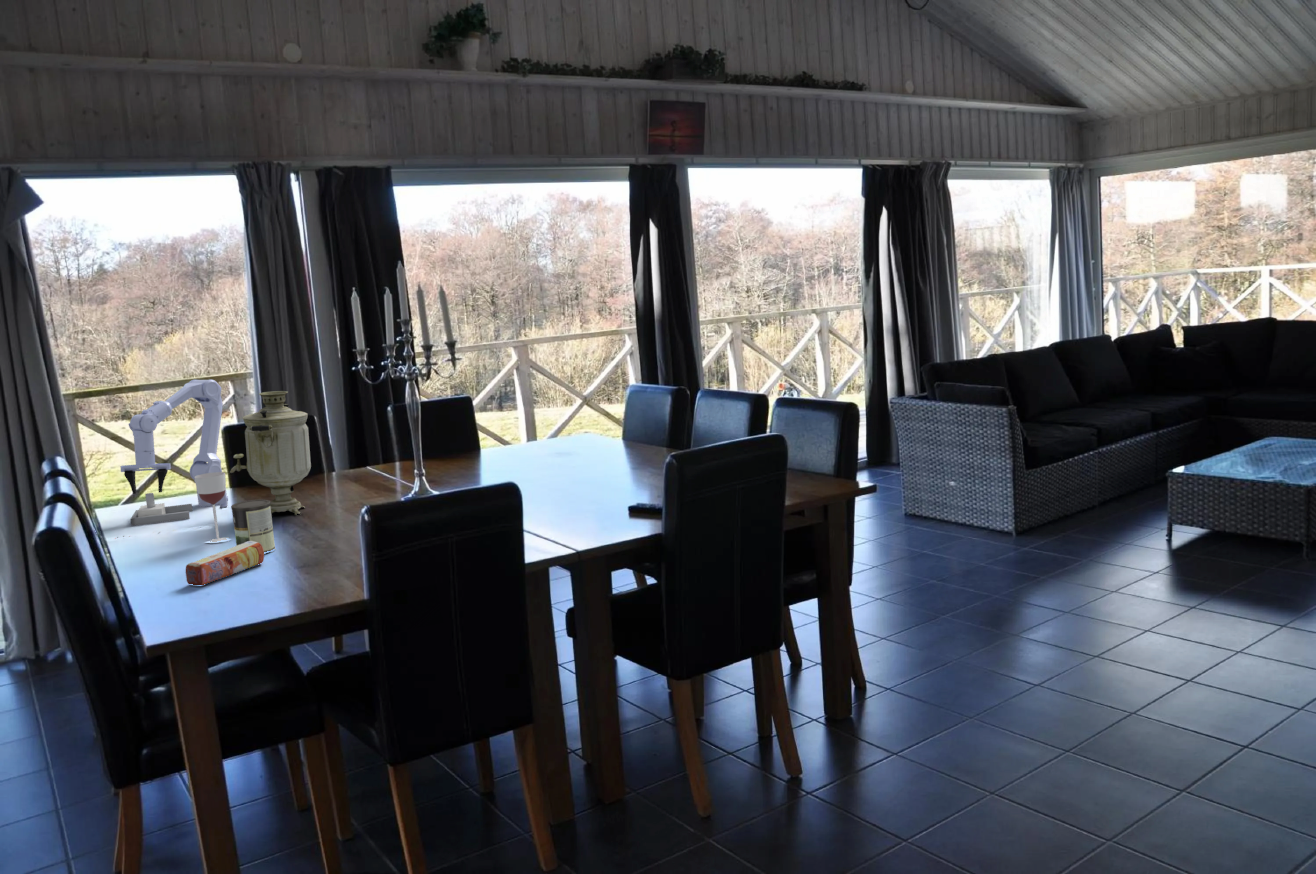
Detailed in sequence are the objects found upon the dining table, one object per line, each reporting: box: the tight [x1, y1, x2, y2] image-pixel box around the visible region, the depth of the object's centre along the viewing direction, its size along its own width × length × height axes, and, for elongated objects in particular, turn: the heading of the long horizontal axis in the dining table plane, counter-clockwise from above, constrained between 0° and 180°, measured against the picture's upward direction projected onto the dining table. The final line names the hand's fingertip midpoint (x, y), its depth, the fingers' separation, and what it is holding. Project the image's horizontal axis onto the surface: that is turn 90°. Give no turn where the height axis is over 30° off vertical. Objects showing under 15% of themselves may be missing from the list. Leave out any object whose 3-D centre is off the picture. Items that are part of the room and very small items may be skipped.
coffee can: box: [230, 499, 276, 552], centre depth 292 cm, size 10×10×14 cm
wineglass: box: [194, 471, 227, 542], centre depth 307 cm, size 8×9×20 cm
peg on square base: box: [137, 492, 166, 517], centre depth 338 cm, size 7×9×8 cm
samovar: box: [229, 390, 312, 516], centre depth 340 cm, size 30×26×40 cm
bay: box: [130, 503, 194, 527], centre depth 339 cm, size 17×14×4 cm
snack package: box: [185, 541, 265, 586], centre depth 270 cm, size 21×7×7 cm, turn 156°
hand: (147, 492), depth 337 cm, fingers open, 7 cm apart
